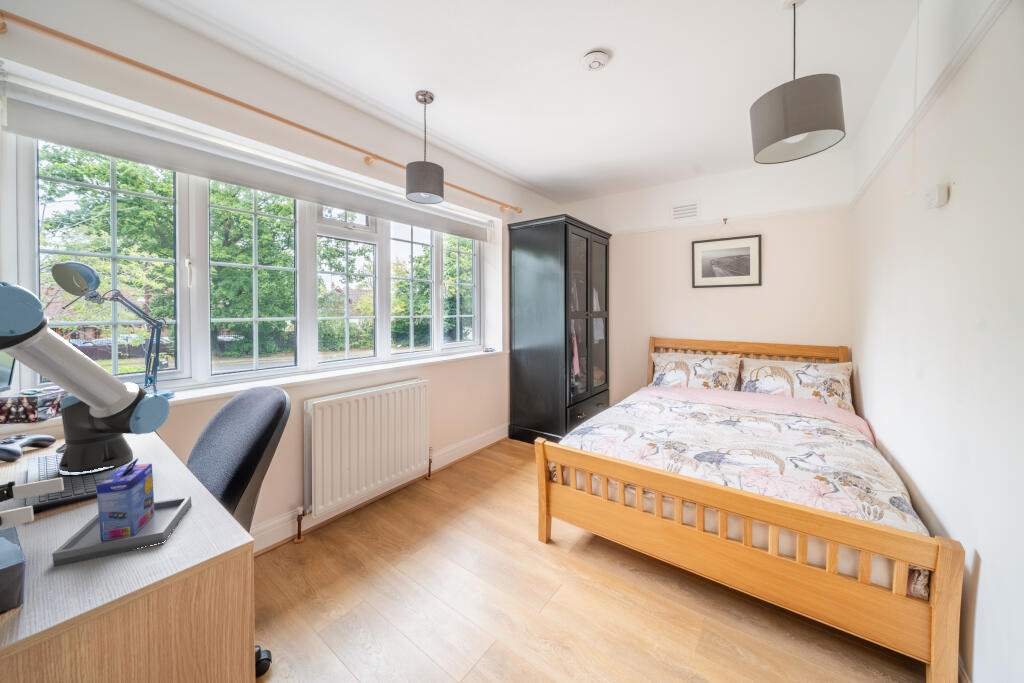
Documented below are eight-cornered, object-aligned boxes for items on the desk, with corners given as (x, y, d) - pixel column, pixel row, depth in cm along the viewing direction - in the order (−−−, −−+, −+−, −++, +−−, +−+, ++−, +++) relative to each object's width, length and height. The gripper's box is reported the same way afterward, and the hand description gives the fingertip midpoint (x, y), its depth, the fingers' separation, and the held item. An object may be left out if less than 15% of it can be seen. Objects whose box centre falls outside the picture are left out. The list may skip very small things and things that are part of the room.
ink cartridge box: (135, 537, 77) (128, 469, 76) (99, 544, 75) (91, 474, 74) (157, 512, 86) (151, 451, 85) (125, 518, 84) (119, 455, 83)
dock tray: (102, 521, 85) (101, 511, 85) (191, 505, 92) (190, 496, 91) (53, 566, 70) (52, 553, 70) (164, 543, 77) (163, 532, 77)
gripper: (-90, 521, 72) (74, 490, 84) (-222, 606, 52) (19, 549, 64) (-96, 483, 71) (70, 457, 84) (-233, 555, 51) (13, 507, 63)
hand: (49, 497), depth 74 cm, fingers open, 13 cm apart
